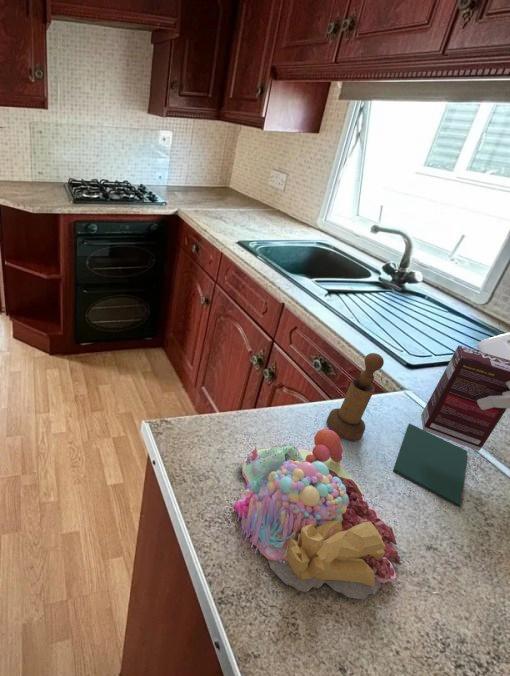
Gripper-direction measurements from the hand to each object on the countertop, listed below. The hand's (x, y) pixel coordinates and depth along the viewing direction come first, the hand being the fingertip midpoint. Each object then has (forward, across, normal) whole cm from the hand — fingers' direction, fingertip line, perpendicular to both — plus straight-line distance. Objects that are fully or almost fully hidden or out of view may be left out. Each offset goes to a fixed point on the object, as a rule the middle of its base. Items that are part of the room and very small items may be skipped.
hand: (469, 391), depth 68 cm
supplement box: (+6, 0, +7) cm, 9 cm away
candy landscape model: (+28, +21, -4) cm, 35 cm away
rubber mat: (+11, 0, +12) cm, 17 cm away
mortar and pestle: (+22, -2, +2) cm, 22 cm away
